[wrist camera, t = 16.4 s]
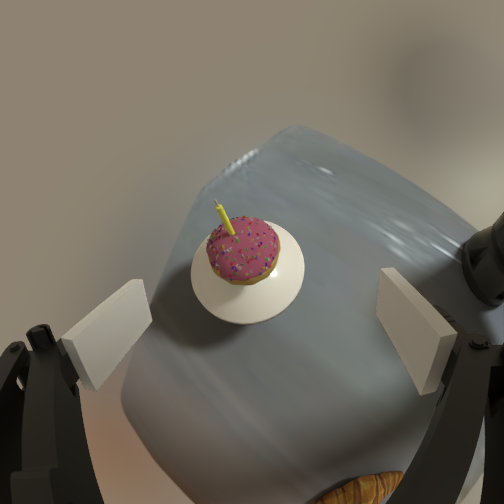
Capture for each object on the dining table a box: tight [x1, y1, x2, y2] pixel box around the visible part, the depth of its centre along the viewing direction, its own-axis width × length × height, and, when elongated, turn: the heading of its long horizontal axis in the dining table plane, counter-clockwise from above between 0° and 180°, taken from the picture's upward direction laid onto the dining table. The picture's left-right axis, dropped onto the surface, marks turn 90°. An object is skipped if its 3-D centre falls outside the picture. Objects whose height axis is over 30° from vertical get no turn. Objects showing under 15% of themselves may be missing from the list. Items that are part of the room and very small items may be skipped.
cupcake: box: [206, 200, 281, 285], centre depth 30 cm, size 9×8×12 cm
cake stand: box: [191, 221, 304, 325], centre depth 39 cm, size 15×15×8 cm
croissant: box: [315, 471, 404, 504], centre depth 22 cm, size 14×7×5 cm, turn 101°
